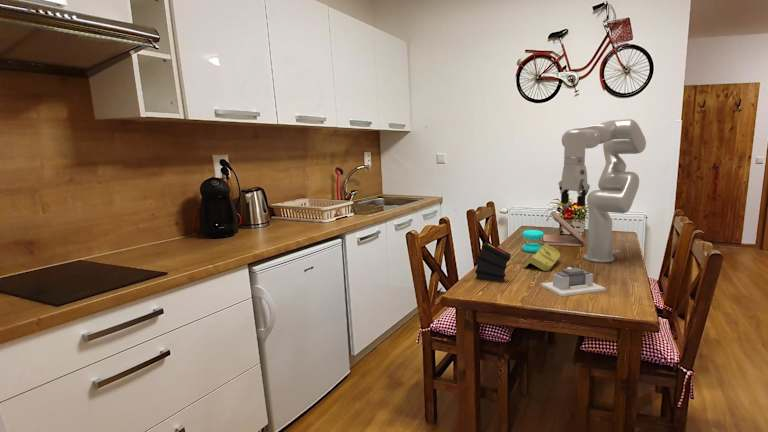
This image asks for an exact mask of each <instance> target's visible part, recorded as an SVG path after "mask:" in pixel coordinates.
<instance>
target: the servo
mask: <svg viewBox="0 0 768 432" xmlns="http://www.w3.org/2000/svg"><path fill="white" fill-rule="evenodd" d="M555 274H557V275H559V276H561V277H569V288H570V286H577V285H583V281H584V275H587V274H590V272H589V271H586V270H585V269H581V268H578V267H570V266H568V267H567V268H563V269H562V270H561V271H559V272H555Z"/></svg>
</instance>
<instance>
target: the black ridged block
mask: <svg viewBox="0 0 768 432" xmlns="http://www.w3.org/2000/svg"><path fill="white" fill-rule="evenodd" d="M481 247H482V249H481V251H480V253H479V255H477V265H476V269H475V270H474V271H475V274H476V275H475V278H476V279H477V280H487V281H495V282H504V280H505V277H506V269H507V267H508V266H507V264H508V262H509V261H510V260H511V256H512V254H511V253H509V252H508V251H505V250H503V249H502V248H500V247H497V246H495V245H494V244H492V243H490V242H489V241H486V242H485V243H484V244H483V245H482V246H481Z"/></svg>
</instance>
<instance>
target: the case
mask: <svg viewBox="0 0 768 432" xmlns="http://www.w3.org/2000/svg"><path fill="white" fill-rule="evenodd" d="M551 216H552V218H553V220H554V221H555V222H556V223H558V224H559V225H560V226H561V227H562V228H564V230H566V231H567V232H568V233H569V234H570V235H559V234H558V235H557V234H544V236H543V238H541V239H540V244H541V245H542V246H543V245H544V244H547V245H549V246H559V247H560V246H561V247H582V246H583V243H584V242H585V241H584V239H583V236H582V234H581V233H580V232H579V231H578V230H577V229H575V228H574V227H573V226H572V225H571V224H569V223H568V222H567V221H566V220H565V219H564V218H562V217H561V216H560V215H559V214H558V213H557V212H556V211H553V210H552V211H551Z"/></svg>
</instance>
